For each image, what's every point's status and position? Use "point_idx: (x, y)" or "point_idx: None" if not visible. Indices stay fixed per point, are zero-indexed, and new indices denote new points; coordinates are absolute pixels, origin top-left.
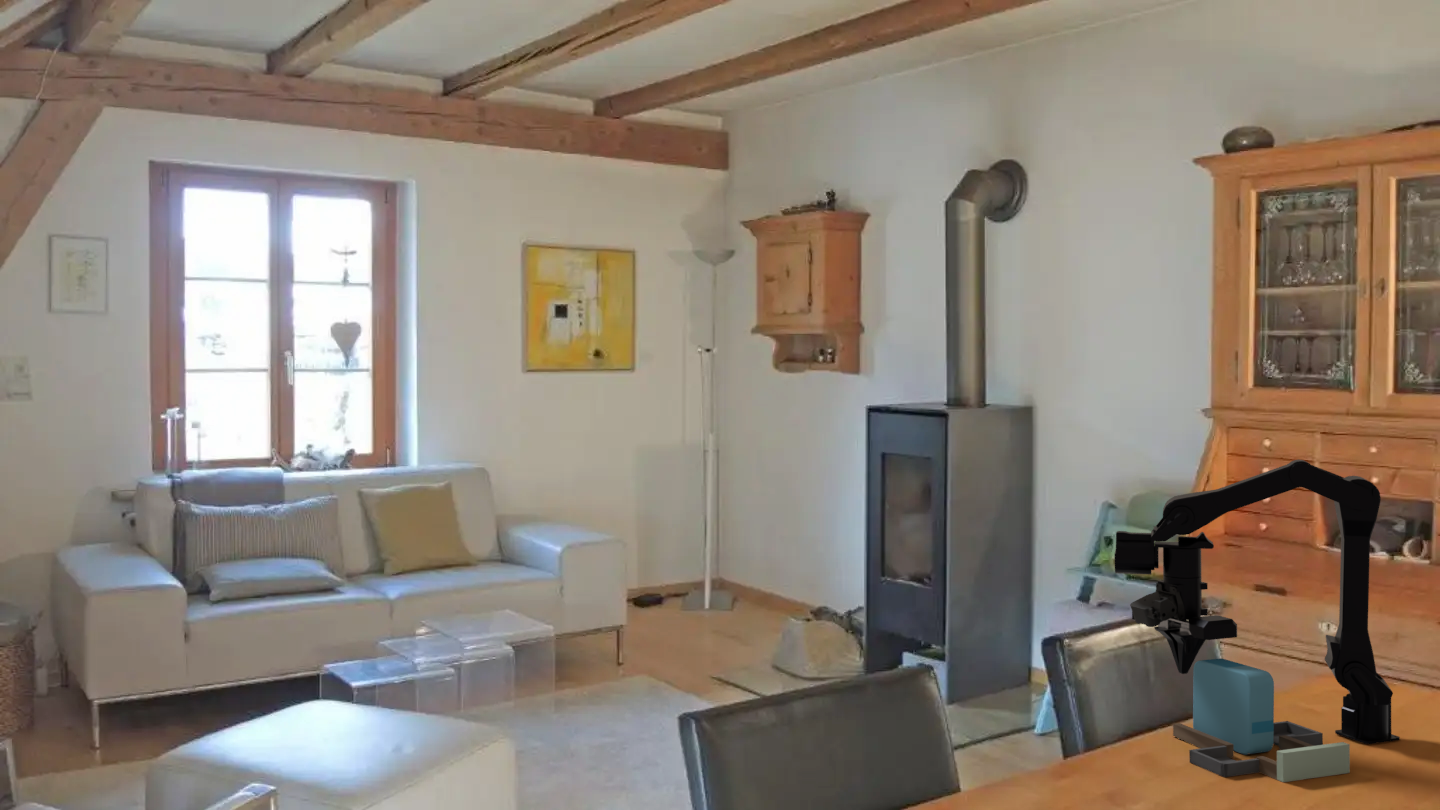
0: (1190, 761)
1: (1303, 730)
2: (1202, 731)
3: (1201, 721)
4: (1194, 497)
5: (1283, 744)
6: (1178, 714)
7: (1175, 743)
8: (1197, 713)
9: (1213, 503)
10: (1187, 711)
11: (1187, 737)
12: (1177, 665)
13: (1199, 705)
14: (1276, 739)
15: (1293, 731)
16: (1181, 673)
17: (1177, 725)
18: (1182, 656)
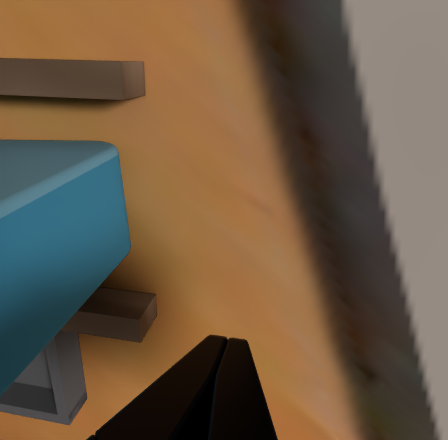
0: None
1: (5, 398)
2: (65, 146)
3: (45, 154)
4: None
5: None
6: (389, 299)
7: (66, 6)
8: (51, 161)
9: None
10: (402, 351)
11: (49, 59)
12: (240, 369)
13: (12, 173)
14: None
15: (45, 393)
16: (222, 337)
17: (91, 61)
18: (109, 424)
